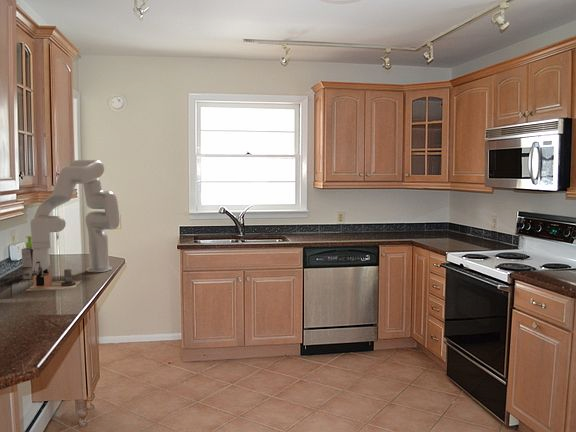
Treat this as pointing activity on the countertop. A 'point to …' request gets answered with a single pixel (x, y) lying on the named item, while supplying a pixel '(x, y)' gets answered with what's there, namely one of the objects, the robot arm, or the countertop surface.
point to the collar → (46, 280)
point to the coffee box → (28, 263)
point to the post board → (60, 283)
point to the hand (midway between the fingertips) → (43, 283)
